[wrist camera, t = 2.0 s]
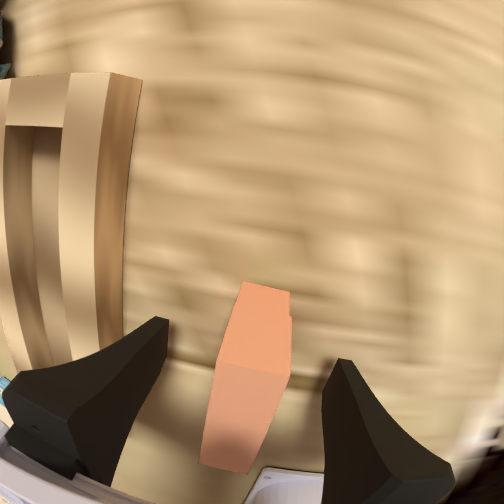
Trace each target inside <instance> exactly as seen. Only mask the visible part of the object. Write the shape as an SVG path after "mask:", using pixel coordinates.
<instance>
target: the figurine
mask: <svg viewBox="0 0 504 504" xmlns="http://www.w3.org/2000/svg"><path fill="white" fill-rule="evenodd" d="M2 20H3V19H2V16H1V13H0V48H1V47H2V44H3V41H2V37H3V30H2ZM10 67H11V64H10V63H7V64H2V65H0V80H1V79H3V78H4V77H5V76H6V75H7V72H8V70H9V68H10Z"/></svg>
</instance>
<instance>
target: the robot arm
mask: <svg viewBox="0 0 504 504" xmlns="http://www.w3.org/2000/svg"><path fill="white" fill-rule="evenodd" d="M168 329H169V320H168V319H164V318H161V317H157V316H155V317H153V318H152V319H150V320H149V321H147V322H146V323H144V324H143V325H141V326H140V327H139V328H137V329H136V330H134V331H133V332H131V333H129V334H128V335H126V336H125V337H123V338H122V339H120V340H118V341H116V342H115V343H113V344H111V345H109V346H108V347H106V348H104V349H102V350H100V351H98V352H96V353H93V354H91V355H89V356H86V357H83V358H80V359H77V360H74V361H71V362H68V363H65V364H61V365H57V366H53V367H48V368H42V369H34V370H26V371H20V372H19V373H18V374H17V375H16V376H15V378H14V379H13V380H12V381H11V382H10V383H9V384H8V386H7V387H6V388H5V389H4V390H3V392H2V400H3V402H4V405H5V407H6V409H7V411H8V413H9V415H10V417H11V419H12V421H13V423H14V424H13V425H12V426H11V428H9V427H8V426H7V425H6V424H5V423H4V422H3V421H1V420H0V495H1V496H3V497H4V498H5V499H7V500H8V501H10V502H11V503H12V504H154V503H151V502H148V501H145V500H142V499H139V498H137V497H134V496H131V495H128V494H126V493H123V492H121V491H118V490H115V489H113V488H111V484H112V480H113V477H114V474H115V470H116V467H117V464H118V462H119V459H120V456H121V453H122V450H123V447H124V445H125V442H126V439H127V437H128V434H129V432H130V429H131V427H132V424H133V422H134V420H135V418H136V416H137V414H138V412H139V410H140V408H141V406H142V404H143V403H144V401H145V399H146V397H147V396H148V394H149V392H150V390H151V389H152V387H153V385H154V383H155V381H156V380H157V378H158V376H159V374H160V372H161V369H162V367H163V364H164V362H165V359H166V357H167V344H168ZM322 425H323V437H324V451H325V467H324V474H320V473H310V472H300V471H292V470H284V469H277V468H269V467H268V468H264V469H263V470H262V472H261V474H260V475H259V477H258V479H257V481H256V483H255V485H254V486H253V488H252V490H251V492H250V494H249V495H248V497H247V499H246V501H245V502H244V504H434V503H436V502H437V501H438V500H439V499H441V498H442V497H443V496H445V495H446V494H447V493H448V492H449V491H450V490H451V489H452V488H453V486H454V485H455V478H454V474H453V471H452V467H451V464H450V463H448V462H446V461H445V460H443V459H441V458H440V457H438V456H436V455H435V454H433V453H432V452H430V451H429V450H427V449H426V448H425V447H423V446H422V445H421V444H419V443H418V442H417V441H416V440H414V439H413V438H412V437H411V436H410V435H409V434H408V433H407V432H405V431H404V430H403V429H402V428H401V427H400V426H399V425H398V424H397V422H396V421H395V420H394V419H393V418H392V417H391V416H390V415H389V414H388V412H387V411H386V410H385V409H384V407H383V406H382V405H381V403H380V402H379V401H378V399H377V398H376V397H375V395H374V394H373V392H372V391H371V389H370V388H369V386H368V385H367V383H366V382H365V380H364V379H363V377H362V376H361V374H360V373H359V371H358V369H357V368H356V366H355V365H354V363H353V362H352V360H346V359H340V358H338V360H337V362H336V364H335V366H334V368H333V371H332V373H331V375H330V377H329V379H328V381H327V383H326V385H325V387H324V389H323V392H322Z"/></svg>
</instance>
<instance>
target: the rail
mask: <svg viewBox="0 0 504 504" xmlns="http://www.w3.org/2000/svg"><path fill="white" fill-rule="evenodd" d="M141 85H142V80H140V79H137V78H132V77H128V76H124V75H120V74H115V73H111V72H92V73H64V74H48V75H36V76H26V77H18V78H10V79H2V80H0V317H1V321H2V325H3V328H4V332H5V335H6V339H7V342H8V346H9V349H10V352H11V355H12V358H13V361H14V364H15V367H16V370H17V373H19V372H20V371H26V370H34V369H42V368H48V367H53V366H57V365H61V364H65V363H68V362H71V361H74V360H77V359H80V358H83V357H86V356H89V355H91V354H93V353H96V352H98V351H100V350H102V349H104V348H106V347H108V346H109V345H111V344H113V343H115V342H116V341H118V340H120V339H122V338H123V322H122V263H123V237H124V219H125V205H126V193H127V182H128V172H129V163H130V155H131V147H132V140H133V133H134V126H135V119H136V113H137V107H138V101H139V96H140V90H141Z"/></svg>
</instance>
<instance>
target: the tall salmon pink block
mask: <svg viewBox="0 0 504 504" xmlns="http://www.w3.org/2000/svg"><path fill="white" fill-rule="evenodd" d="M289 307H290V292H288V291H284V290H279V289H275V288H271V287H266V286H262V285H258V284H253V283H249V282H245V281H243V283H242V286H241V289H240V292H239V295H238V298H237V302H236V304H235V305H234V308H233V311H232V314H231V317H230V320H229V323H228V327H227V330H226V333H225V336H224V339H223V342H222V345H221V348H220V351H219V355H218V358H217V361H216V367H215V372H214V378H213V383H212V388H211V394H210V399H209V405H208V410H207V416H206V421H205V427H204V432H203V438H202V444H201V449H200V455H199V461H198V464H202V465H206V466H210V467H215V468H219V469H223V470H228V471H233V472H238V473H243V474H248V473H249V471H250V469H251V466H252V464H253V462H254V460H255V458H256V456H257V453H258V451H259V449H260V447H261V444H262V442H263V440H264V438H265V435H266V433H267V431H268V428H269V426H270V424H271V421H272V419H273V417H274V414H275V412H276V410H277V407H278V405H279V402H280V400H281V397H282V395H283V392H284V390H285V387H286V385H287V382H288V380H289V377H290V364H291V330H292V316H289Z"/></svg>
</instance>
